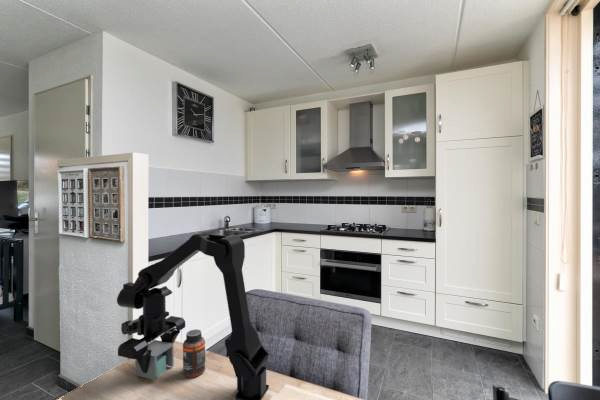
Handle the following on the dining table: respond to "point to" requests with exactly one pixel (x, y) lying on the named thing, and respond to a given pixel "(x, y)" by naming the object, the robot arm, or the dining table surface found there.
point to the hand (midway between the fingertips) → (155, 365)
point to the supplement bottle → (194, 354)
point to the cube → (161, 364)
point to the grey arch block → (157, 350)
